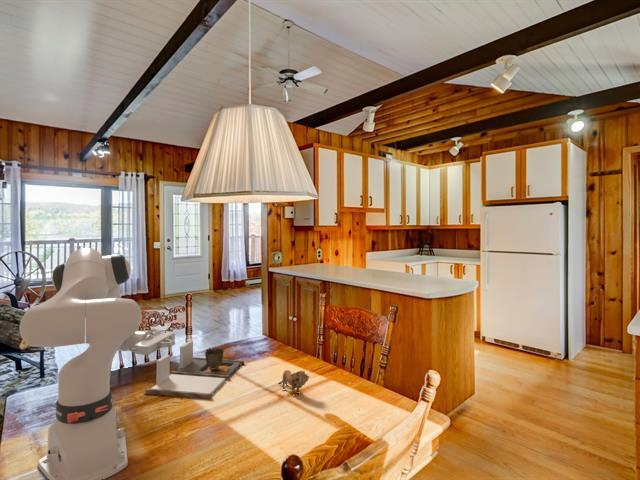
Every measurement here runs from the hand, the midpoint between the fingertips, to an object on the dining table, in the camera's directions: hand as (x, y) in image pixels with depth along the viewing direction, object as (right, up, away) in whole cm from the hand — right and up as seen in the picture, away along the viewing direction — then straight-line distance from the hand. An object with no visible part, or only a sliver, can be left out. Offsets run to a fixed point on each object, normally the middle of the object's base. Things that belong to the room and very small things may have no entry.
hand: (173, 343), depth 150 cm
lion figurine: (+52, -11, -22) cm, 57 cm away
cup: (+18, -10, -3) cm, 21 cm away
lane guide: (+15, -10, -11) cm, 21 cm away
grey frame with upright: (+16, -10, -2) cm, 19 cm away
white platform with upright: (+14, -10, -19) cm, 26 cm away
